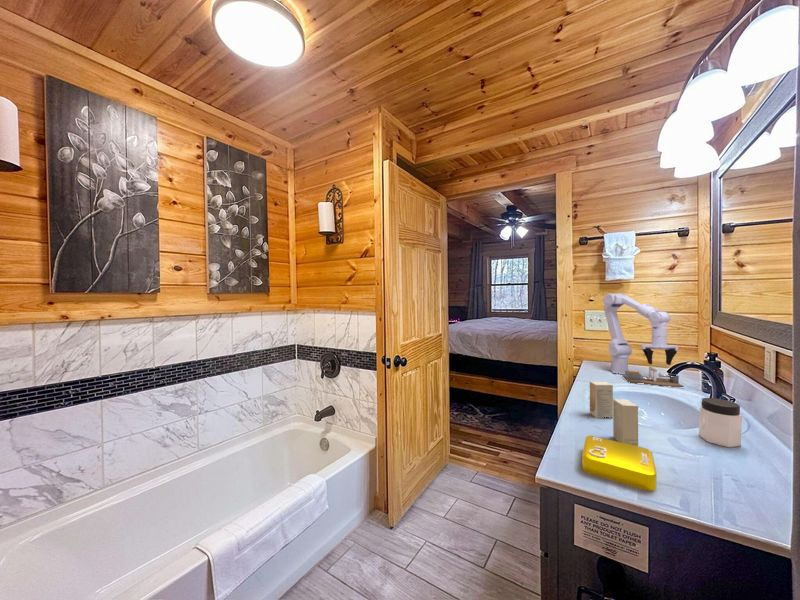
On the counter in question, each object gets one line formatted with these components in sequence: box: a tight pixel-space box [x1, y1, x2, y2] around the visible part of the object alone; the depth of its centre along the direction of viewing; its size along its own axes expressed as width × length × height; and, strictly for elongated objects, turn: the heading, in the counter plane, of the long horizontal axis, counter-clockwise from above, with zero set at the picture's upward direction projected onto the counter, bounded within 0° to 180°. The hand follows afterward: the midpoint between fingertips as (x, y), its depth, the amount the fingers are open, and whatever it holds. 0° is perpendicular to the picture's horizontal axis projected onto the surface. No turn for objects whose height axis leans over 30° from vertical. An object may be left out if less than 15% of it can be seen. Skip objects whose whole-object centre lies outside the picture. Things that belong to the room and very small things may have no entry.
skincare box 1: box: [589, 381, 614, 419], centre depth 113 cm, size 6×4×12 cm
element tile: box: [581, 435, 658, 492], centre depth 81 cm, size 15×15×5 cm
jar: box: [698, 397, 743, 448], centre depth 95 cm, size 9×8×12 cm
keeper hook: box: [658, 372, 680, 384], centre depth 152 cm, size 4×7×4 cm, turn 68°
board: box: [621, 374, 685, 388], centre depth 154 cm, size 12×21×1 cm, turn 68°
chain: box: [641, 366, 657, 382], centre depth 155 cm, size 6×10×6 cm, turn 68°
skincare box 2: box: [612, 398, 639, 447], centre depth 94 cm, size 6×4×12 cm
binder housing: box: [624, 370, 642, 381], centre depth 157 cm, size 5×5×4 cm
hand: (659, 364), depth 151 cm, fingers open, 7 cm apart
